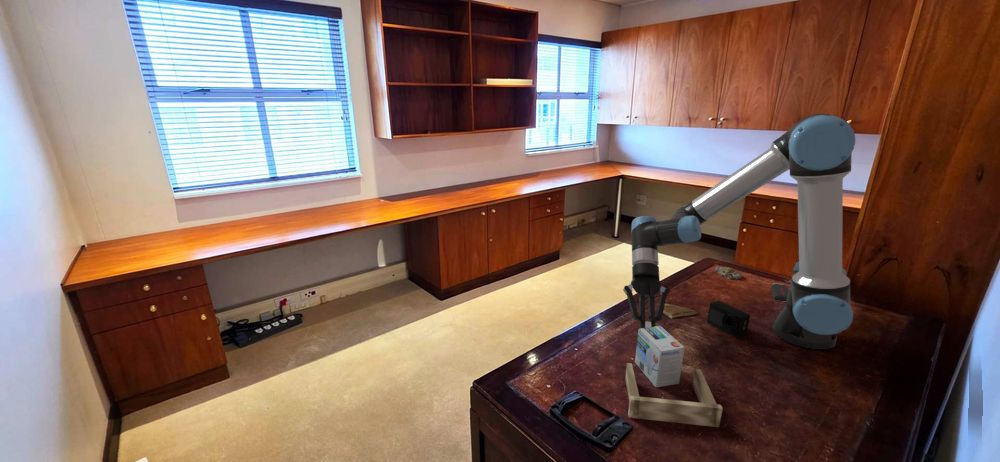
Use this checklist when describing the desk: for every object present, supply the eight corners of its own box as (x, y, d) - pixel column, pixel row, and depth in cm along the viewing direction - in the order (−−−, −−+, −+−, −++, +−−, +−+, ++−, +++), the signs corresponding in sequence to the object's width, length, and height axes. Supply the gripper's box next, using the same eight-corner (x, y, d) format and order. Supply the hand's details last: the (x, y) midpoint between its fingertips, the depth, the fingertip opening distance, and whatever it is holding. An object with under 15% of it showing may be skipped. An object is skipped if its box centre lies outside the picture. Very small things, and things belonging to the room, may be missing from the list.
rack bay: (700, 386, 100) (703, 369, 99) (719, 427, 88) (722, 408, 87) (622, 379, 104) (623, 362, 102) (628, 417, 91) (630, 399, 90)
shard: (697, 315, 134) (698, 310, 133) (693, 325, 128) (694, 320, 127) (663, 306, 139) (664, 301, 139) (658, 316, 134) (658, 311, 133)
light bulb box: (633, 362, 110) (637, 327, 107) (656, 358, 111) (660, 324, 108) (656, 388, 100) (661, 351, 97) (680, 384, 101) (685, 347, 98)
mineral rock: (748, 272, 159) (737, 271, 155) (745, 282, 159) (733, 281, 156) (723, 263, 168) (711, 262, 164) (720, 273, 169) (708, 272, 165)
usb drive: (773, 301, 141) (775, 294, 141) (768, 287, 152) (770, 280, 151) (791, 304, 139) (793, 297, 138) (785, 289, 150) (787, 283, 149)
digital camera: (703, 323, 128) (706, 303, 126) (715, 319, 130) (718, 299, 128) (734, 339, 119) (738, 319, 117) (746, 335, 122) (750, 314, 119)
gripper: (665, 271, 123) (670, 350, 113) (621, 268, 125) (622, 346, 115) (671, 262, 116) (676, 346, 106) (624, 260, 119) (625, 341, 109)
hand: (648, 346), depth 111 cm, fingers closed
